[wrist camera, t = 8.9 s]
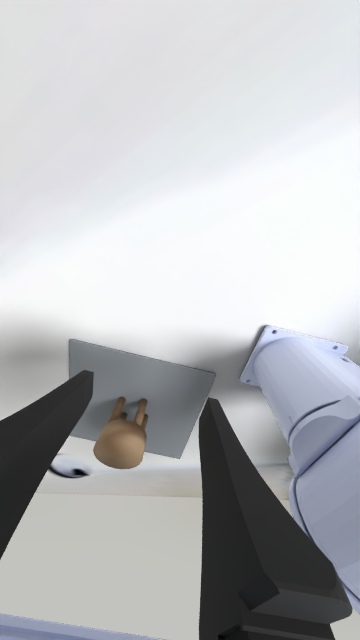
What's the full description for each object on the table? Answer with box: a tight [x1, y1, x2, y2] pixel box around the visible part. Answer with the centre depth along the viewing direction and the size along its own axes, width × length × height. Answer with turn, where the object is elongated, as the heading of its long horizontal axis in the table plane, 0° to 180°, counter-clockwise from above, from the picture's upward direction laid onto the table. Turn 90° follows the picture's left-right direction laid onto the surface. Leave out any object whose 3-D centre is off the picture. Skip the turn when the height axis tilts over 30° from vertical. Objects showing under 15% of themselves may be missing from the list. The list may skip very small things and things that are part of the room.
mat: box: [70, 339, 216, 459], centre depth 25 cm, size 18×18×1 cm
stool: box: [93, 397, 148, 469], centre depth 22 cm, size 5×5×6 cm
